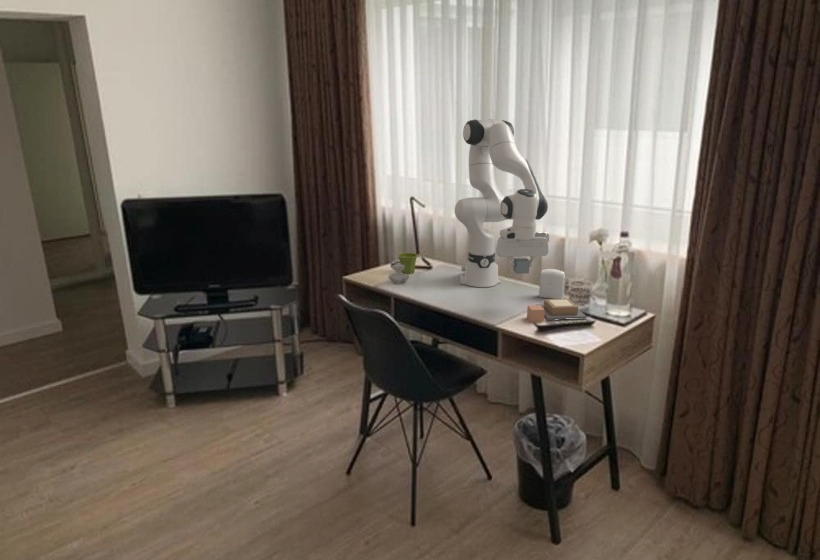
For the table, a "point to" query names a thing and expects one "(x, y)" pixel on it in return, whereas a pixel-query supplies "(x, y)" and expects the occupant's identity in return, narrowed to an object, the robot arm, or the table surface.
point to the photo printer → (552, 284)
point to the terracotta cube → (535, 313)
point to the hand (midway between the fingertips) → (521, 266)
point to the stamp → (398, 274)
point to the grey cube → (521, 265)
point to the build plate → (552, 317)
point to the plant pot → (408, 262)
